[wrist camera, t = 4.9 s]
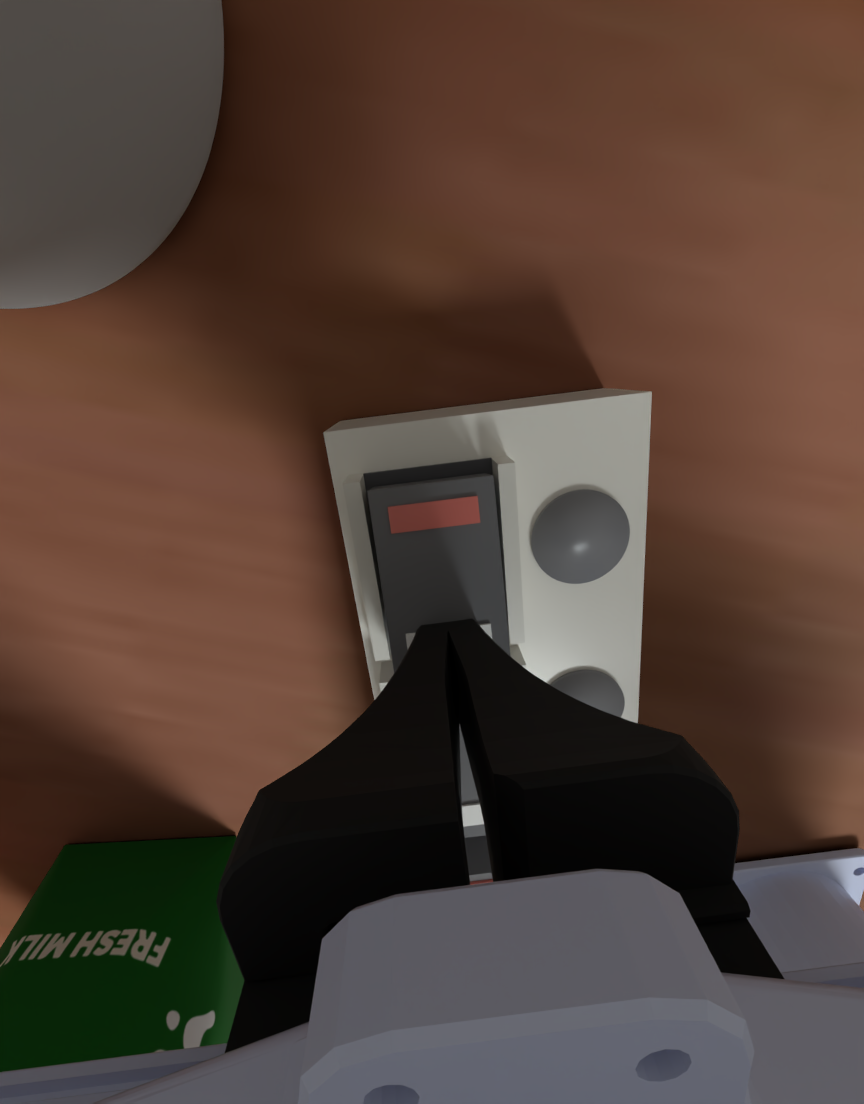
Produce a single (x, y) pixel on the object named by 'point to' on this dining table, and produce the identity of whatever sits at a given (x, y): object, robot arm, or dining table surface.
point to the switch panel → (525, 525)
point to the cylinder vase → (99, 136)
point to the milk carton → (120, 955)
